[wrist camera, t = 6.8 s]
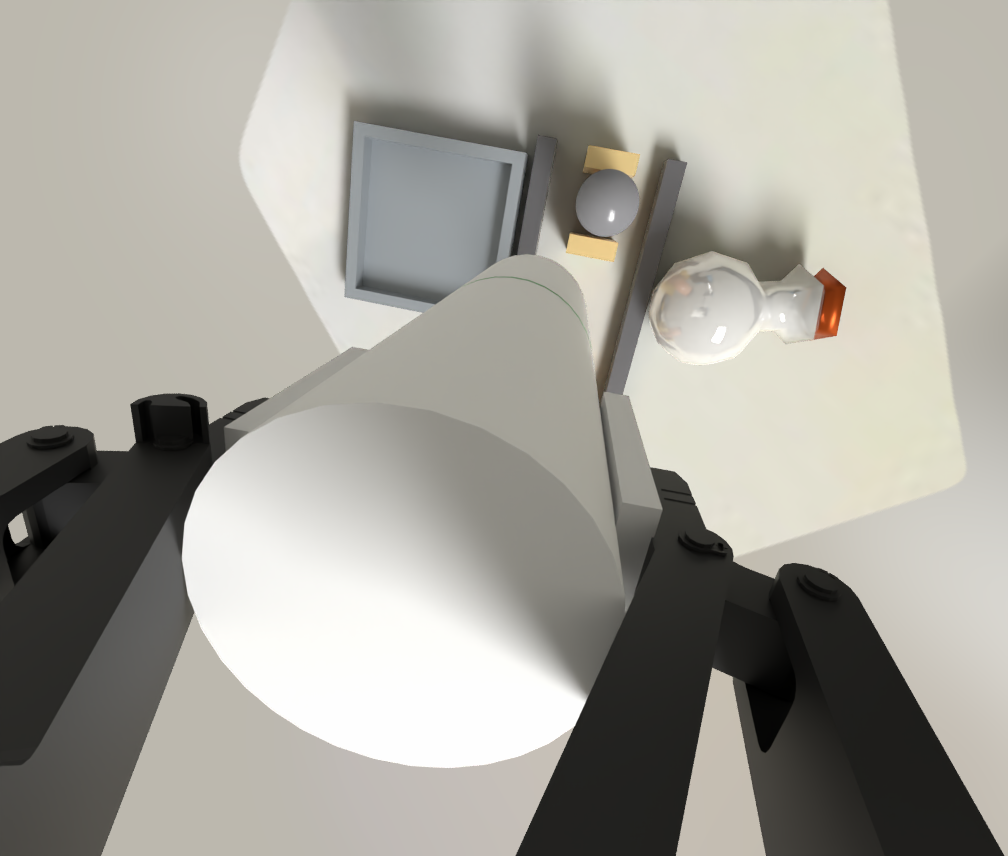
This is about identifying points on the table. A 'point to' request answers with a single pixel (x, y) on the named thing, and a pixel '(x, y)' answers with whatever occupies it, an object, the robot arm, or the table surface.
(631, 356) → the fuse holder
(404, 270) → the tray
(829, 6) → the table surface
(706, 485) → the table surface
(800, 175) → the table surface
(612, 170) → the cylinder
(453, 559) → the cylindrical container
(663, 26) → the table surface
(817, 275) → the potion bottle
